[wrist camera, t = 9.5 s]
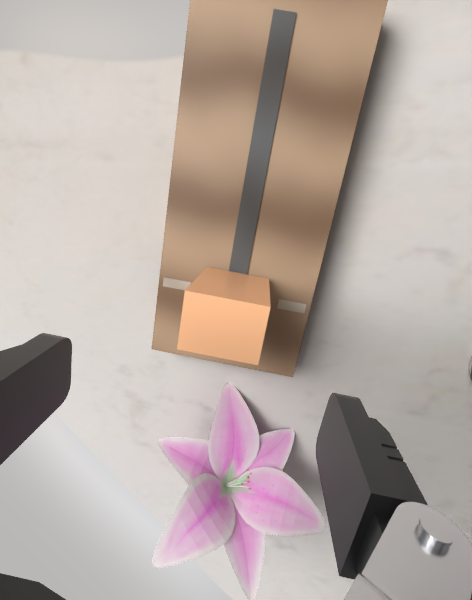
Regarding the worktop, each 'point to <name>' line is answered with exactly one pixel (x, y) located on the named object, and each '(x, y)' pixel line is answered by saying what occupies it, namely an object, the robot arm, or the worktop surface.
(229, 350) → the fader knob
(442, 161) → the worktop surface
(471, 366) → the green soda can
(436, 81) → the worktop surface
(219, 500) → the lily
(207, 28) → the fader base
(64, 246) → the worktop surface
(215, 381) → the worktop surface
